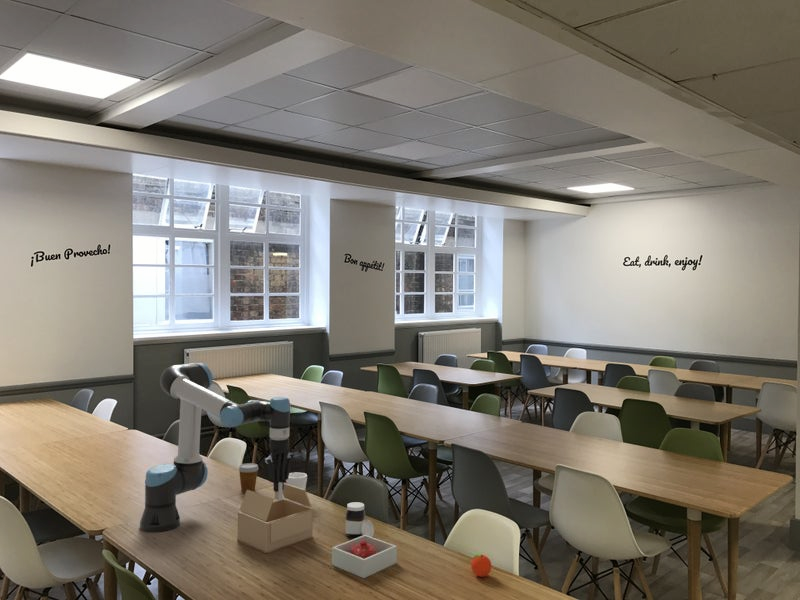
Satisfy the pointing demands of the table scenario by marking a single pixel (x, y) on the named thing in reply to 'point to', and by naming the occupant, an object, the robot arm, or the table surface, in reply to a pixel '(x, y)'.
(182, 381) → the robot arm
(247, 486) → the disposable coffee cup
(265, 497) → the flap near
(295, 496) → the flap far
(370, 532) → the spread jar
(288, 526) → the carton
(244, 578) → the table surface
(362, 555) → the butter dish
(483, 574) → the clementine
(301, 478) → the foam cup
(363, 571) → the dish caddy
